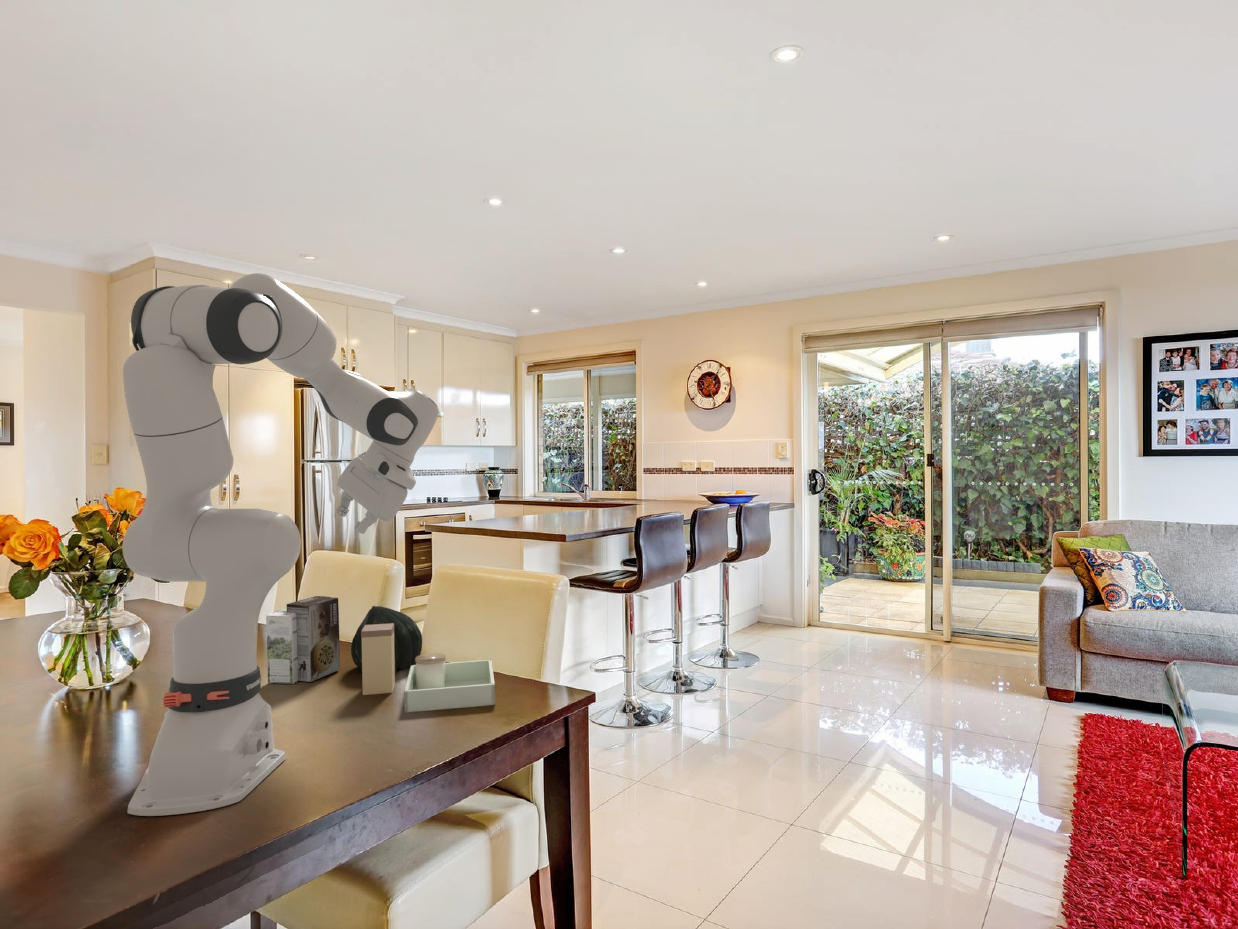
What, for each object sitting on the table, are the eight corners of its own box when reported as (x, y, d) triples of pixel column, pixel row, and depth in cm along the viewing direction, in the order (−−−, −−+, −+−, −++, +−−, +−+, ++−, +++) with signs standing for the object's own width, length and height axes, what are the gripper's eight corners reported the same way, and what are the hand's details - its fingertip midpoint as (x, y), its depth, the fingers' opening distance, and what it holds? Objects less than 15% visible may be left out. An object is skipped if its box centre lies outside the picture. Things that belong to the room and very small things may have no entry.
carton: (392, 696, 140) (391, 629, 140) (362, 699, 139) (361, 631, 139) (395, 687, 146) (394, 623, 146) (366, 690, 145) (365, 625, 145)
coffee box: (317, 667, 160) (316, 595, 160) (341, 670, 158) (340, 596, 158) (286, 679, 152) (285, 603, 152) (311, 682, 150) (309, 605, 150)
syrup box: (307, 676, 155) (306, 608, 155) (292, 685, 149) (291, 614, 149) (282, 676, 155) (281, 608, 155) (266, 684, 149) (265, 614, 149)
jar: (445, 691, 141) (445, 659, 141) (414, 693, 140) (414, 662, 139) (446, 682, 146) (445, 652, 146) (416, 684, 145) (416, 654, 145)
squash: (444, 643, 159) (411, 589, 164) (389, 663, 146) (355, 603, 151) (413, 678, 165) (383, 625, 170) (358, 700, 153) (326, 641, 158)
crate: (495, 709, 132) (494, 684, 132) (404, 716, 129) (404, 691, 129) (491, 681, 149) (491, 659, 149) (411, 687, 146) (411, 665, 146)
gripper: (351, 443, 152) (316, 499, 150) (395, 473, 138) (356, 536, 136) (375, 455, 156) (341, 510, 155) (420, 486, 142) (383, 547, 141)
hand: (348, 523), depth 145 cm, fingers open, 8 cm apart
